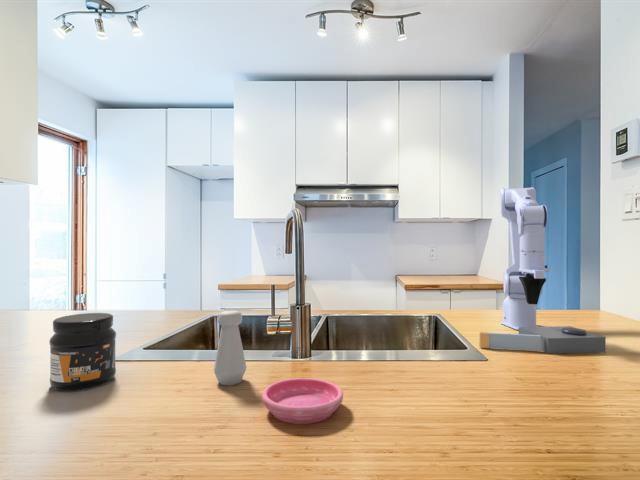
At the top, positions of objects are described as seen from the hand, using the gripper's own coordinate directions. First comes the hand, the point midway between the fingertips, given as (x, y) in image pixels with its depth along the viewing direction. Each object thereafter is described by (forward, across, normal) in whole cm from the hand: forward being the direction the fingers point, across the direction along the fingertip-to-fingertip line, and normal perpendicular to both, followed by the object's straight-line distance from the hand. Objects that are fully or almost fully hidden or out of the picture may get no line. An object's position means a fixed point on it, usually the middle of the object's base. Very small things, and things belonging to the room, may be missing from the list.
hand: (532, 303), depth 101 cm
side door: (+9, -12, +7) cm, 17 cm away
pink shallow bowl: (+10, -56, +45) cm, 72 cm away
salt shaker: (+10, -48, +61) cm, 78 cm away
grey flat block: (+9, -5, -5) cm, 12 cm away
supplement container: (+10, -55, +87) cm, 104 cm away
